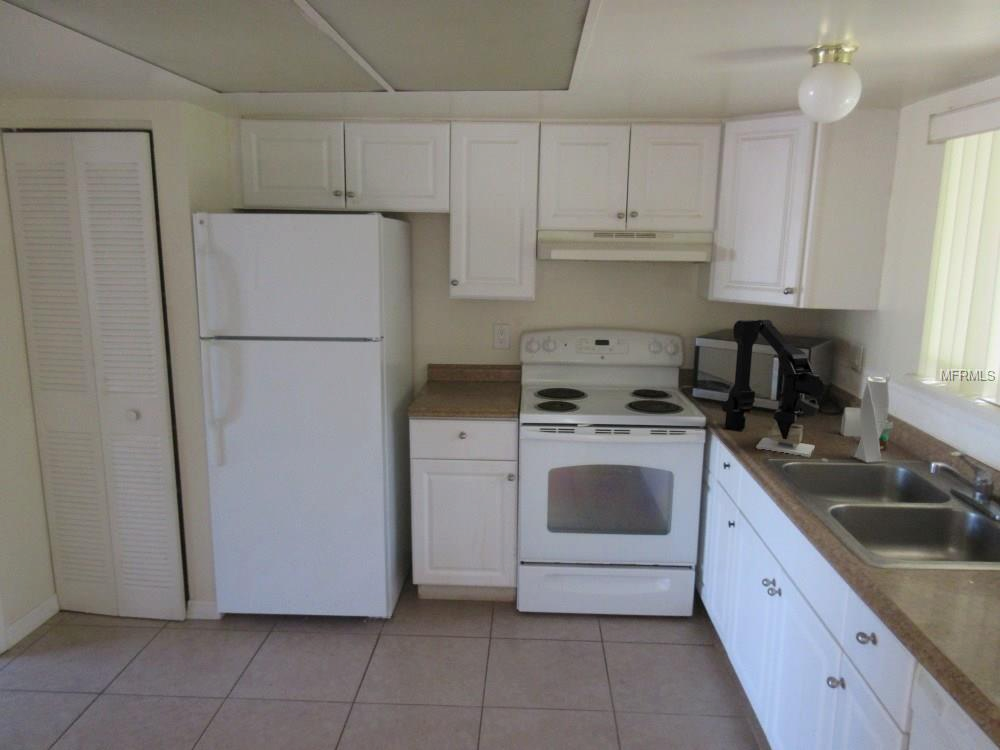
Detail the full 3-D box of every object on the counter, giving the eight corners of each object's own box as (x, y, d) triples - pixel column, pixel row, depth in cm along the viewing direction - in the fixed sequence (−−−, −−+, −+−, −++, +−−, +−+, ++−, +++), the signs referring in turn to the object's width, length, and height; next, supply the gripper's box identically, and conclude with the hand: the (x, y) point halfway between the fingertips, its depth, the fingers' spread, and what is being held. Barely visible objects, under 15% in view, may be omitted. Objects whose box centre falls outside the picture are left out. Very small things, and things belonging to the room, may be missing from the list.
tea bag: (864, 437, 233) (867, 409, 231) (843, 436, 234) (846, 408, 233) (860, 434, 237) (863, 407, 235) (840, 433, 238) (843, 406, 236)
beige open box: (798, 444, 213) (800, 429, 212) (770, 440, 217) (772, 425, 216) (801, 440, 218) (803, 425, 217) (774, 436, 222) (776, 421, 221)
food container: (896, 453, 214) (900, 424, 213) (875, 452, 216) (879, 422, 214) (882, 443, 226) (886, 414, 224) (863, 441, 228) (866, 413, 226)
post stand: (756, 448, 217) (757, 432, 216) (763, 440, 227) (765, 424, 226) (809, 457, 209) (811, 440, 208) (814, 448, 219) (816, 432, 218)
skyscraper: (890, 464, 204) (902, 374, 198) (866, 465, 202) (878, 375, 197) (870, 455, 212) (881, 369, 207) (847, 456, 210) (858, 370, 205)
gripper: (814, 398, 202) (809, 447, 205) (822, 388, 218) (817, 434, 221) (776, 394, 208) (771, 441, 211) (786, 384, 224) (781, 429, 227)
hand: (786, 436), depth 217 cm, fingers closed on beige open box, 6 cm apart
